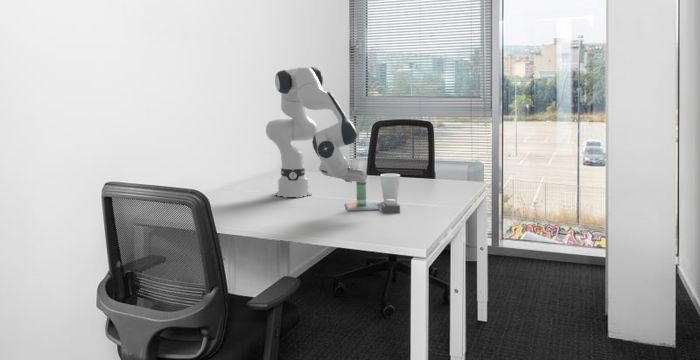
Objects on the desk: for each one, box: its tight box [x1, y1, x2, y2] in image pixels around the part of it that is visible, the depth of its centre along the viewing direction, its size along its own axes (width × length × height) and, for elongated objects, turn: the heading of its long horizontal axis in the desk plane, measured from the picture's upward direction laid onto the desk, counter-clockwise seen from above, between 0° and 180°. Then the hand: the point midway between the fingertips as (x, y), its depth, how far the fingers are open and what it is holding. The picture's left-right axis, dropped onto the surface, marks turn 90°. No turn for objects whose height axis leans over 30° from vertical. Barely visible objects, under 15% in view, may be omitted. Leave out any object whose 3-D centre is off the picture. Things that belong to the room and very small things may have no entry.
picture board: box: [344, 202, 381, 212], centre depth 247 cm, size 15×14×1 cm
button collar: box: [380, 202, 401, 214], centre depth 238 cm, size 7×7×3 cm
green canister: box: [355, 180, 367, 206], centre depth 247 cm, size 5×5×11 cm
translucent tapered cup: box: [379, 173, 401, 203], centre depth 258 cm, size 10×9×13 cm
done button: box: [384, 199, 397, 206], centre depth 238 cm, size 4×4×3 cm
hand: (349, 180), depth 238 cm, fingers closed
